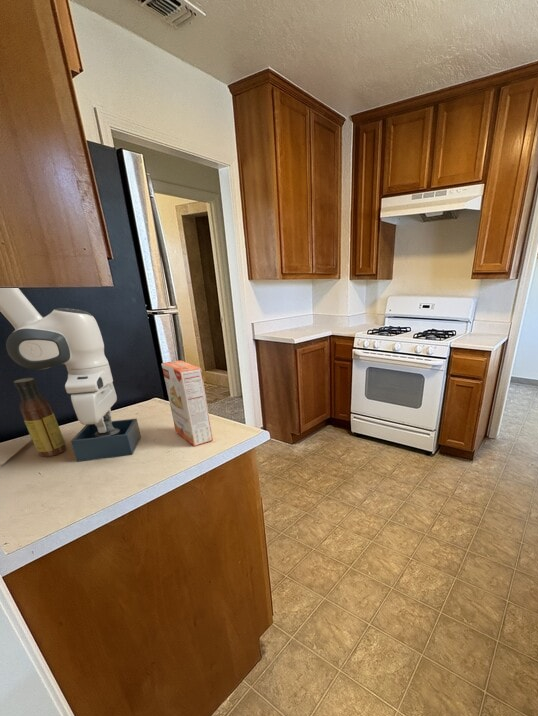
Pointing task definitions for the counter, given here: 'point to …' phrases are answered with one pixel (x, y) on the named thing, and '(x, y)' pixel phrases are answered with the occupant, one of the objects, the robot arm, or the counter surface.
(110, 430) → the grey chess piece
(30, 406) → the sauce bottle
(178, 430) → the cracker box
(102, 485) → the counter surface
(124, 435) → the bin
